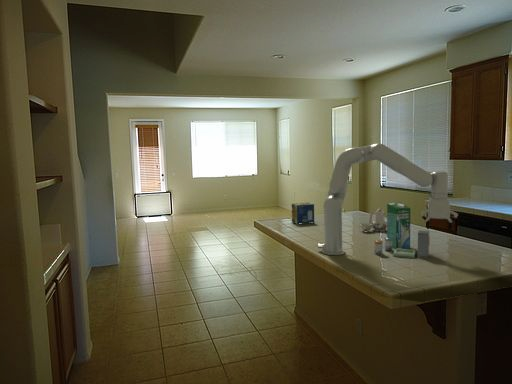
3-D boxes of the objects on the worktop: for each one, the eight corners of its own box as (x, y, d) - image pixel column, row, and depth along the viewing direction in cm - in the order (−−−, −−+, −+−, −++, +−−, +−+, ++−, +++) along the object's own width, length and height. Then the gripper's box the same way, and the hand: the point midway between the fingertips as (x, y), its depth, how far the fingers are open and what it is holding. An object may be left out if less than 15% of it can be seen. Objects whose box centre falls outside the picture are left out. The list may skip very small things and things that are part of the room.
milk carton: (396, 249, 213) (396, 204, 211) (386, 245, 222) (387, 203, 220) (410, 247, 216) (410, 203, 213) (400, 244, 224) (400, 202, 222)
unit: (417, 257, 195) (417, 233, 194) (418, 253, 202) (418, 230, 201) (429, 258, 193) (429, 233, 192) (429, 254, 199) (430, 231, 198)
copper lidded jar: (373, 254, 204) (373, 241, 203) (375, 252, 207) (375, 239, 207) (381, 255, 202) (382, 242, 201) (383, 253, 206) (383, 240, 205)
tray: (393, 256, 198) (393, 252, 198) (395, 251, 207) (395, 248, 207) (414, 258, 194) (414, 254, 194) (415, 253, 203) (415, 249, 203)
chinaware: (358, 235, 259) (358, 211, 256) (358, 228, 275) (358, 206, 272) (402, 236, 253) (402, 212, 249) (399, 229, 268) (399, 206, 265)
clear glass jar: (384, 251, 210) (384, 238, 209) (385, 249, 214) (385, 237, 213) (392, 251, 208) (392, 239, 207) (393, 249, 212) (393, 237, 211)
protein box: (291, 222, 307) (291, 203, 306) (309, 221, 312) (308, 202, 310) (296, 224, 297) (296, 205, 296) (314, 223, 302) (314, 203, 300)
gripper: (420, 196, 192) (419, 229, 194) (458, 197, 184) (457, 232, 186) (420, 194, 199) (420, 227, 200) (458, 195, 191) (457, 229, 192)
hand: (438, 229), depth 193 cm, fingers open, 9 cm apart
